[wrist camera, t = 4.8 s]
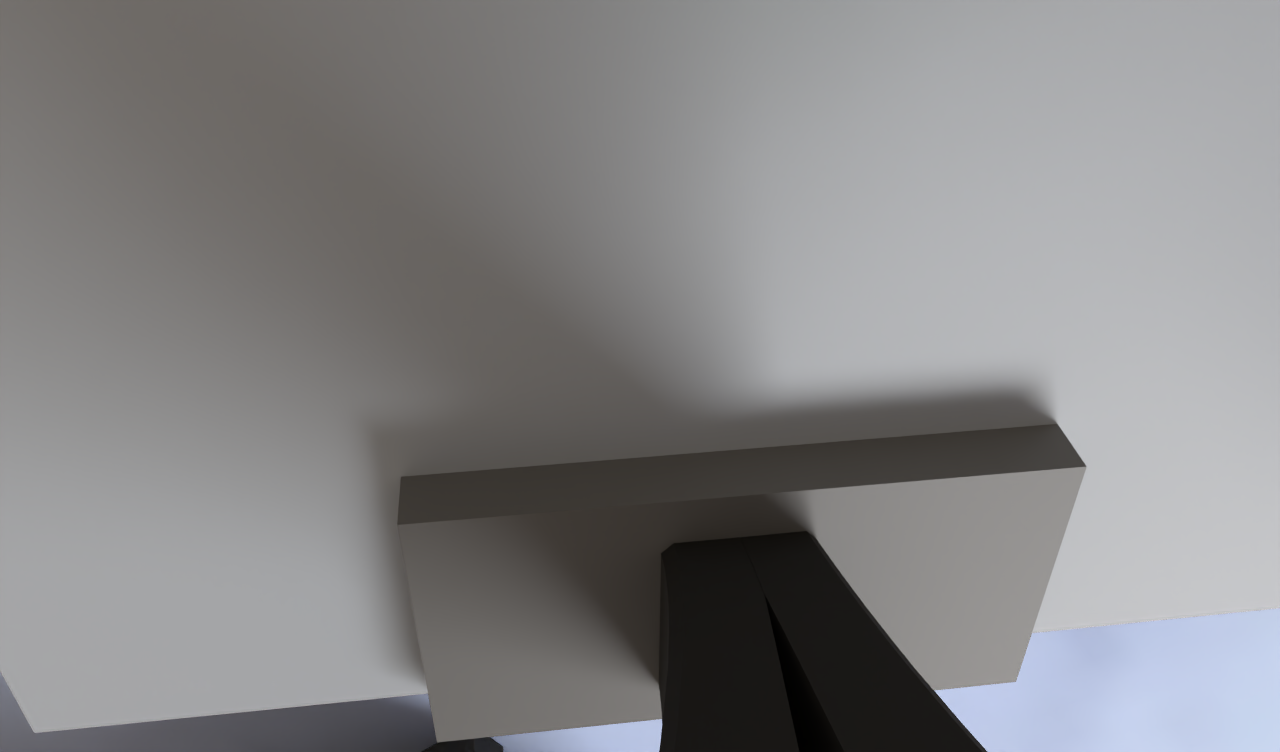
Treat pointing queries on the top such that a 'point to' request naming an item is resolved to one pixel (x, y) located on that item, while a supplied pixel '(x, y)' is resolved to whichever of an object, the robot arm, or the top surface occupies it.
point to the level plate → (617, 336)
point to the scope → (467, 746)
